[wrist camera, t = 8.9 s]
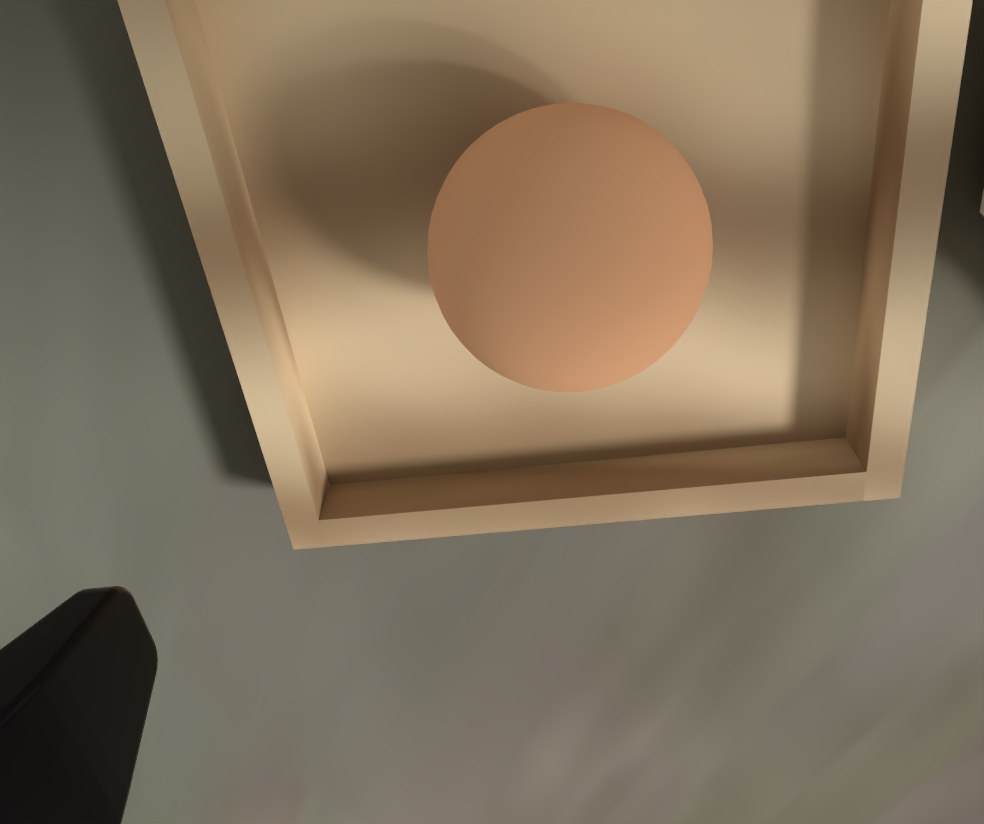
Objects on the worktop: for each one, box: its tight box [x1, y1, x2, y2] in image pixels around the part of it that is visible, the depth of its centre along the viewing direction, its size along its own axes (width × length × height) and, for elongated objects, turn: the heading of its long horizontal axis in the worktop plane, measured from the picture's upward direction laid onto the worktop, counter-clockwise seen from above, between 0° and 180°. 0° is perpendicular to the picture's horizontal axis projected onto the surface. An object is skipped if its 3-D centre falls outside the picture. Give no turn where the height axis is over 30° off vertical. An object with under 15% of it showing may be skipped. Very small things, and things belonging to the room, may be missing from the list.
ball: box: [427, 103, 713, 392], centre depth 15 cm, size 5×5×5 cm
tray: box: [117, 0, 973, 550], centre depth 17 cm, size 14×14×2 cm
